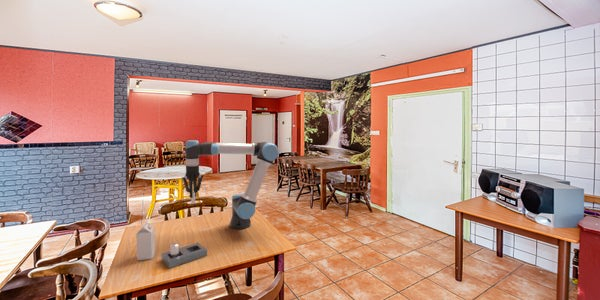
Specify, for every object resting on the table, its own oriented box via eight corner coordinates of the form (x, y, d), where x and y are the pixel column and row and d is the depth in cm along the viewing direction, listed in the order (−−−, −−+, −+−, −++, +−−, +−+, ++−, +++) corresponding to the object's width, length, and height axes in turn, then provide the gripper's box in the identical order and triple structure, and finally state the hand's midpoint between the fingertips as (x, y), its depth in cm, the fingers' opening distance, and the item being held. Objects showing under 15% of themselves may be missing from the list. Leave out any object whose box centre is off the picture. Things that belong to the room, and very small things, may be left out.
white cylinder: (177, 258, 145) (177, 242, 144) (180, 261, 142) (180, 244, 141) (169, 260, 142) (168, 244, 141) (172, 263, 139) (171, 247, 138)
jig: (198, 248, 157) (197, 242, 157) (207, 255, 148) (206, 249, 148) (161, 259, 143) (161, 253, 143) (169, 268, 134) (169, 261, 134)
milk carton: (137, 260, 142) (135, 226, 140) (141, 254, 148) (139, 221, 147) (152, 259, 144) (150, 225, 142) (155, 253, 150) (154, 220, 149)
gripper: (200, 163, 171) (200, 199, 173) (179, 165, 162) (180, 203, 164) (205, 165, 166) (205, 201, 168) (184, 167, 157) (185, 205, 159)
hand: (193, 202), depth 166 cm, fingers closed
